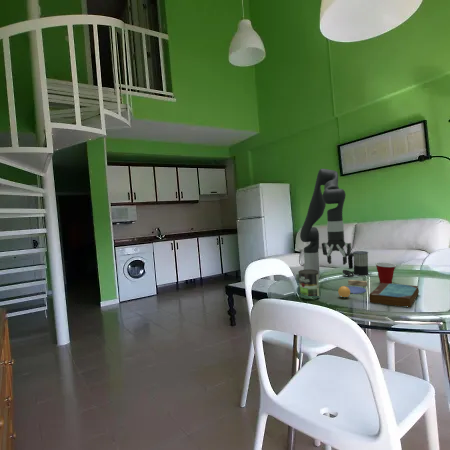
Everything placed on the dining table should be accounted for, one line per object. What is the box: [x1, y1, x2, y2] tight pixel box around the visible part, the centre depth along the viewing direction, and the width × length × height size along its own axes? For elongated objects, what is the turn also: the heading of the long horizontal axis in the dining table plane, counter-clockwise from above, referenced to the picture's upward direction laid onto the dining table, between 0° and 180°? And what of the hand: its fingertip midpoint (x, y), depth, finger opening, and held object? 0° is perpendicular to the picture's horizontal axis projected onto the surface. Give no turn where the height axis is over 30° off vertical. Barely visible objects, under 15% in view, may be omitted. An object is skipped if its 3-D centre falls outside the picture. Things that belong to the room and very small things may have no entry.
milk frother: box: [342, 250, 370, 277], centre depth 212 cm, size 14×16×15 cm
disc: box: [346, 285, 367, 295], centre depth 181 cm, size 14×14×1 cm
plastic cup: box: [375, 262, 397, 285], centre depth 186 cm, size 11×11×12 cm
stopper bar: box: [347, 279, 368, 287], centre depth 189 cm, size 10×2×2 cm, turn 53°
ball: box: [337, 285, 351, 298], centre depth 168 cm, size 6×6×6 cm
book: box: [368, 283, 420, 308], centre depth 162 cm, size 23×18×5 cm
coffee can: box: [298, 269, 320, 297], centre depth 173 cm, size 10×10×14 cm
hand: (337, 263), depth 160 cm, fingers open, 6 cm apart
